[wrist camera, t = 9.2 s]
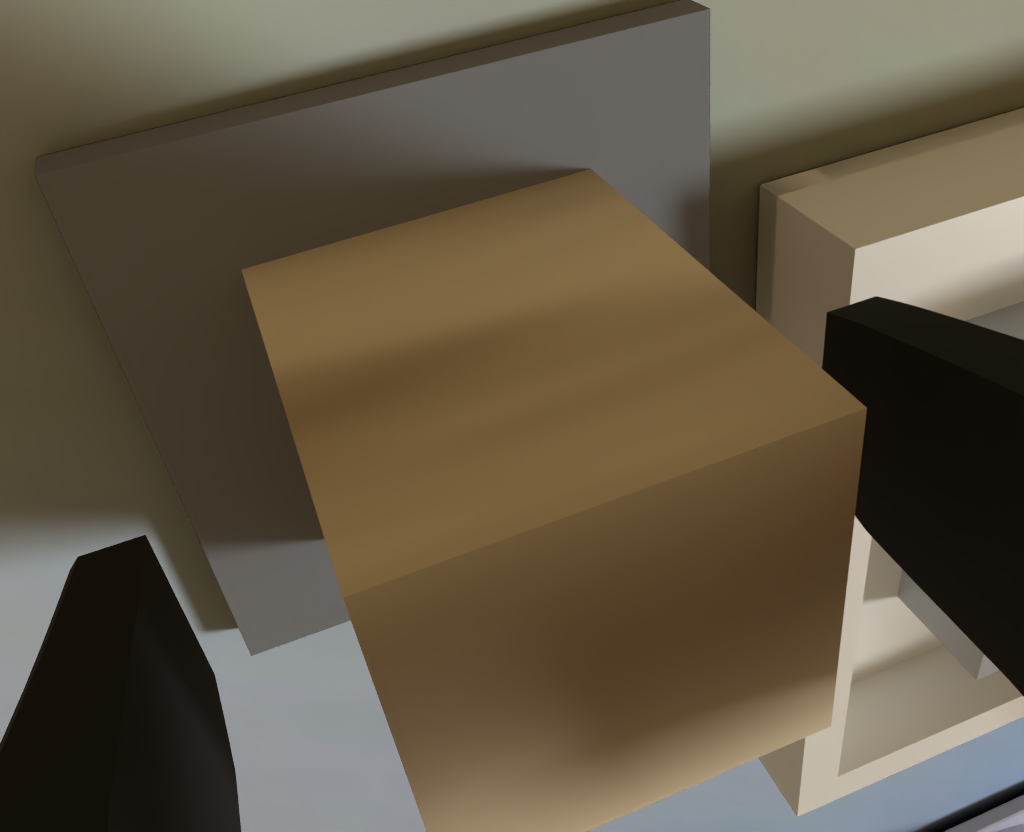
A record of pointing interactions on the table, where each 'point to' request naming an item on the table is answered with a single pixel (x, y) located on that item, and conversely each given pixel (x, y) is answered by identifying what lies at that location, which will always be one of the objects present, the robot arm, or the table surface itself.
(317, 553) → the rubber mat
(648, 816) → the table surface
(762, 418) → the maple block
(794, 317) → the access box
